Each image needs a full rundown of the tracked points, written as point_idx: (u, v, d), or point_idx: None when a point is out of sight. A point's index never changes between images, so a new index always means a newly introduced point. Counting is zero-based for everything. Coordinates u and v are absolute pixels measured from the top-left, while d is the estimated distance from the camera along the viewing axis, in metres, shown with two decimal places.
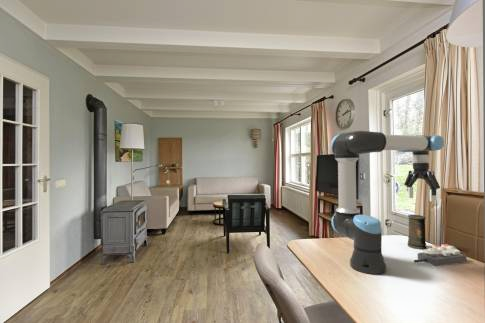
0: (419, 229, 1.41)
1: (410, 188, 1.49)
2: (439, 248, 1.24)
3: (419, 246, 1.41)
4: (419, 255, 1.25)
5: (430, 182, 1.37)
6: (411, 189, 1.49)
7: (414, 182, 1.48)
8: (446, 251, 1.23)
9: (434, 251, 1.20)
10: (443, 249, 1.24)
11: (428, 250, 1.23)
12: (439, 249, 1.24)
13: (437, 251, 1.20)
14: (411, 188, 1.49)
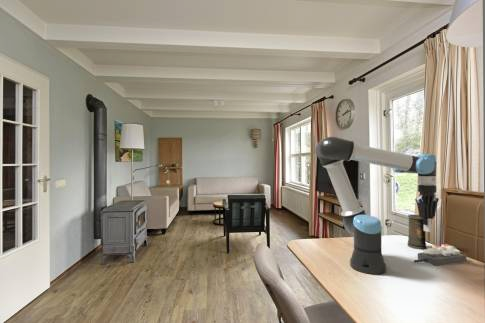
0: (419, 229, 1.41)
1: None
2: (439, 248, 1.24)
3: (419, 246, 1.41)
4: (419, 255, 1.25)
5: None
6: None
7: (430, 210, 1.25)
8: (446, 251, 1.23)
9: (434, 251, 1.20)
10: (443, 249, 1.24)
11: (428, 250, 1.23)
12: (439, 249, 1.24)
13: (437, 251, 1.20)
14: None
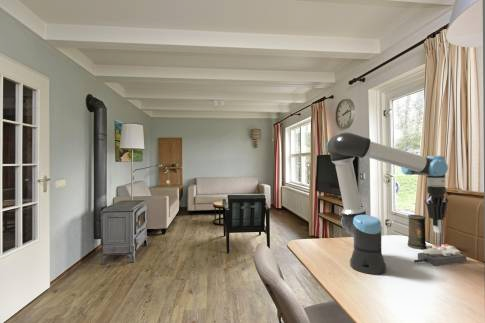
0: (419, 229, 1.41)
1: None
2: (439, 248, 1.24)
3: (419, 246, 1.41)
4: (419, 255, 1.25)
5: None
6: None
7: (439, 211, 1.26)
8: (446, 251, 1.23)
9: (434, 251, 1.20)
10: (443, 249, 1.24)
11: (428, 250, 1.23)
12: (439, 249, 1.24)
13: (437, 251, 1.20)
14: None
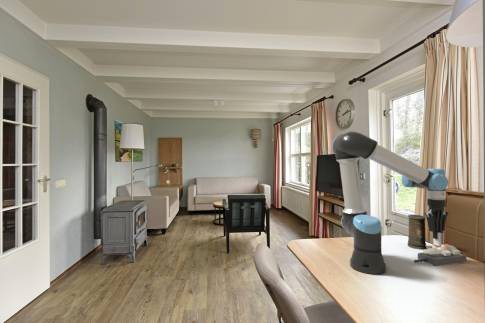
0: (419, 229, 1.41)
1: None
2: (439, 248, 1.24)
3: (419, 246, 1.41)
4: (419, 255, 1.25)
5: None
6: None
7: (439, 224, 1.26)
8: (446, 251, 1.23)
9: (434, 251, 1.20)
10: (443, 249, 1.24)
11: (428, 250, 1.23)
12: (439, 249, 1.24)
13: (437, 251, 1.20)
14: None
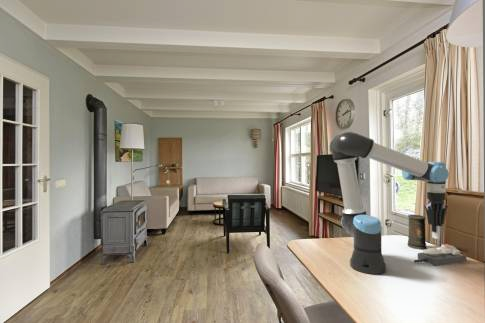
0: (419, 229, 1.41)
1: None
2: (438, 248, 1.25)
3: (419, 246, 1.41)
4: (419, 255, 1.25)
5: None
6: None
7: (438, 217, 1.26)
8: (445, 249, 1.23)
9: (434, 251, 1.20)
10: (442, 248, 1.24)
11: (428, 250, 1.23)
12: (438, 249, 1.24)
13: (437, 251, 1.20)
14: None
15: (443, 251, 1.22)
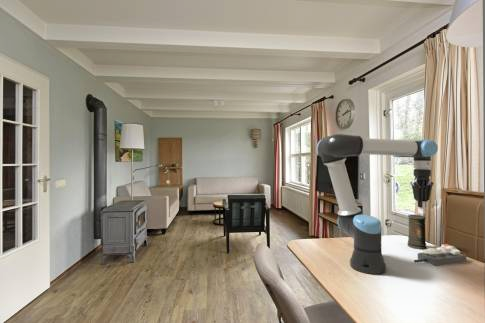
0: (419, 229, 1.41)
1: None
2: (438, 248, 1.25)
3: (419, 246, 1.41)
4: (419, 255, 1.25)
5: None
6: None
7: (424, 193, 1.31)
8: (445, 248, 1.23)
9: (434, 251, 1.20)
10: (442, 248, 1.24)
11: (428, 250, 1.23)
12: (438, 249, 1.24)
13: (437, 251, 1.20)
14: None
15: (443, 251, 1.22)
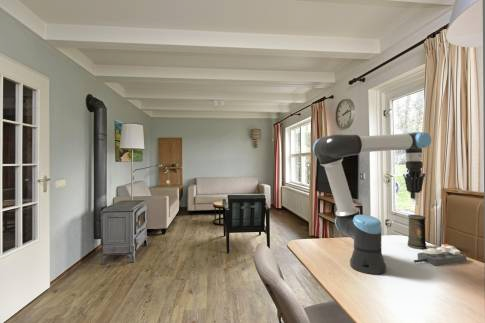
0: (419, 229, 1.41)
1: None
2: (437, 248, 1.25)
3: (419, 246, 1.41)
4: (419, 255, 1.25)
5: None
6: None
7: (416, 185, 1.34)
8: (445, 248, 1.23)
9: (434, 251, 1.20)
10: (441, 247, 1.24)
11: (428, 250, 1.23)
12: (438, 249, 1.24)
13: (437, 251, 1.20)
14: None
15: (443, 250, 1.22)
